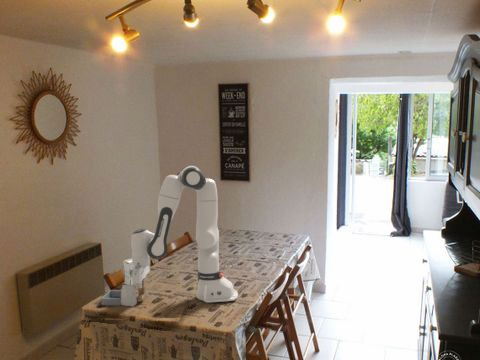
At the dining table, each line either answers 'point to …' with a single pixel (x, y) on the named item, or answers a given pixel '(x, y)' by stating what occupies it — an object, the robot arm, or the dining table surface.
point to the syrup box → (128, 272)
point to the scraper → (142, 291)
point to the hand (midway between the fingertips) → (141, 286)
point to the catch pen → (111, 301)
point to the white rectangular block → (128, 295)
